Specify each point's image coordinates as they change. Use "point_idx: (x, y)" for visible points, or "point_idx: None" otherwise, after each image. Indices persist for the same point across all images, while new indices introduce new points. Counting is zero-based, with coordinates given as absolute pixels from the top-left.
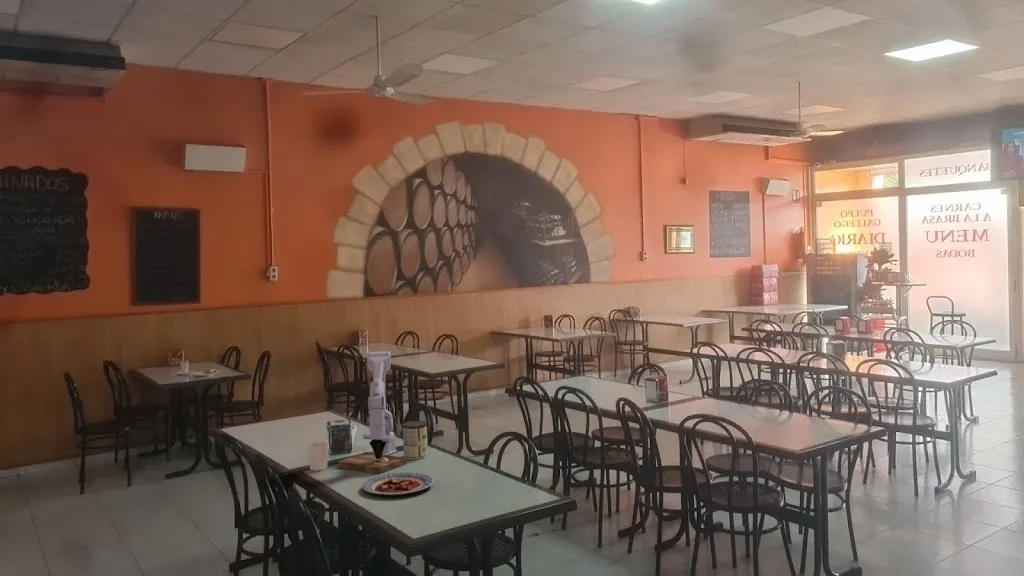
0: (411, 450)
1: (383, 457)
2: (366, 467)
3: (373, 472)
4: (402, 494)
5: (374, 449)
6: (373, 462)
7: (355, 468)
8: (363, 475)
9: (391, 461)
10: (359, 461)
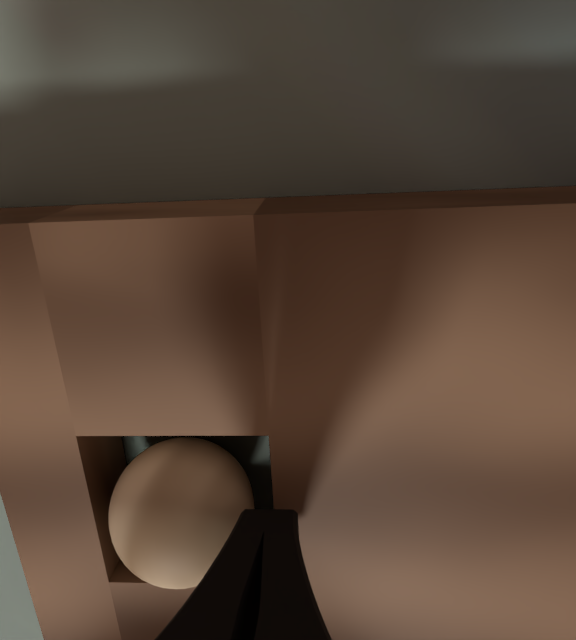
0: None
1: (176, 565)
2: (224, 210)
3: (98, 206)
4: None
5: (270, 635)
6: (267, 413)
7: (479, 193)
8: (136, 28)
9: (79, 547)
10: (534, 357)
